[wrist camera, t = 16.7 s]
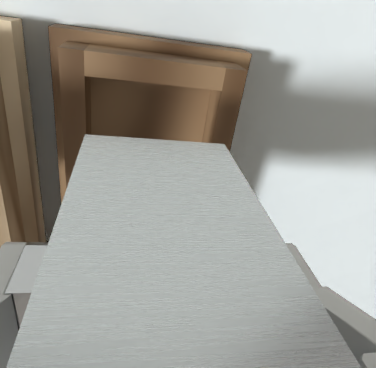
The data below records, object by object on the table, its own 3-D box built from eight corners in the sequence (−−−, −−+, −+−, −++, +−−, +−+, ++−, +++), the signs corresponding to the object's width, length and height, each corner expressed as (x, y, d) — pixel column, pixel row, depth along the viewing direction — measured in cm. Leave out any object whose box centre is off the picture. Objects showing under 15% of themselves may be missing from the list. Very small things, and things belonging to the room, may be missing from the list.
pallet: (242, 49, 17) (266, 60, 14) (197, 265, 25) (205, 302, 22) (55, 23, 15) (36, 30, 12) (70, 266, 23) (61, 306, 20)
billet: (224, 143, 11) (463, 534, 3) (202, 249, 13) (302, 617, 5) (85, 134, 10) (-93, 657, 2) (88, 249, 12) (11, 692, 4)
